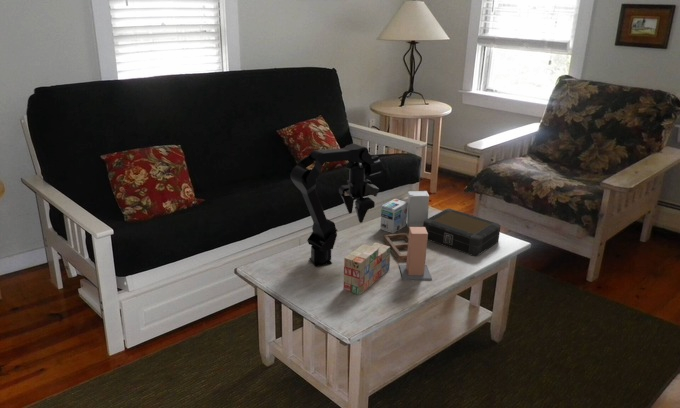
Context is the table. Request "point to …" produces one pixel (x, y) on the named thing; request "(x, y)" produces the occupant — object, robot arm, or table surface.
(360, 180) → the robot arm
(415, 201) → the skincare box
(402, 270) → the slate mat
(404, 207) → the light bulb box
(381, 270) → the stack of blocks
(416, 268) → the terracotta block
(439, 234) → the cash box
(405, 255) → the walnut rack
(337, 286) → the table surface
